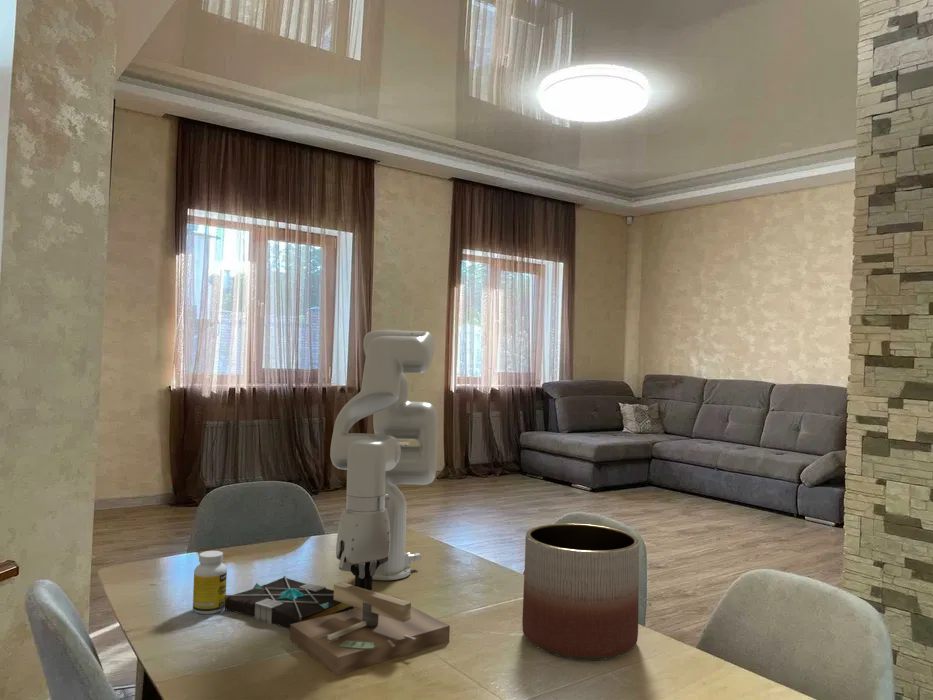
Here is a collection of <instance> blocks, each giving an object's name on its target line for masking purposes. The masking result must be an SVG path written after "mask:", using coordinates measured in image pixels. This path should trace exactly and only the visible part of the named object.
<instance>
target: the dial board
mask: <svg viewBox="0 0 933 700" xmlns="http://www.w3.org/2000/svg"><path fill="white" fill-rule="evenodd" d="M362 619H363V609H361V608H358V607H355V608H354V609H350V610H348V611H344V612H340V613H335V614H331V615H327V616H323V617H319V618H315V619H310V620H306V621H302V622H298V623H294V624H290V628H289V641H290V642H291V643H292V644H294V645H295V646H297V647H298V648H300V649H301V650H302V651H304V652H305V653H306V654H307V655H309V656H310V657H312V658H313V659H314V660H315V661H318V662H319V663H320V664H321V665H323V666H324V667H325V668H327V669H329V671H331V672H333V673H334V674H335V675H336V676H340V675H343V674H345V673H346V674H347V673H350V672H352V671H353V672H354V671H356V670H359V669H362V668H365V667H366V668H367V667H368V666H372V665H376V664H379V662H380V663H383V662H386V661H389V660H392V659H396V658H400V657H402V656H405V655H410V654H413V653H416V652H419V651H423V650H426V649H429V648H432V647H436V646H439V645H442V644H445V643H449V642H450V627H451V626H450V625H449V624H447V623H445V622H443V621H441V620H439V619H437V618H435V617H434V616H431V615H429V614H427V613H426V612H423V611H421V610H420V609H417V608H415V607H413V606H411V619H410V620H407V621H405V622H401V621H398V620H395V619H392V618H389V617H386V616H382V615H379V618H378V625H376V626H363V627H361V628H358V629H356V630H354V631H351V632H349V633H346V634H344V635H342V636H339V637H337V638H334V639H332V640H329V639H328V635H330V634H333V633H335V632H338V631H340V630H342V629H345V628H347V627H350V626H352V625H355V624H357V623H360V622H362ZM349 671H350V672H349ZM339 674H340V675H339Z"/></svg>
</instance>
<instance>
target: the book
mask: <svg viewBox="0 0 933 700" xmlns="http://www.w3.org/2000/svg"><path fill="white" fill-rule="evenodd" d="M225 599H226V600H225V608H224V609H223V610H224V611H225V612H226V611H228V612H229V611H231V612H235V613H239V614H244V615H246V616H250V617H254V620H257V621H260V622H264V623H267V624H270V625H272V624H276V625H279V626H282V627H285V628H287V629H290V624H294V623H298V622H302V621H306V620H310V619H315V618H319V617H323V616H327V615H331V614H335V613H340V612H344V611H348V610H352V609H355V607H354V606H351V605H348V604H345V603H342V602H339V601H336V600H334V589H333V590H332V589H329V588H327V586H324V585H320V584H316V583H313V582H309V583H304V582H301V581H298V580H294V579H291V578H288V577H287V576H286V575H283V577H281V578H279V579H276V580H274V581H271V582H269V583H266V584H263V585H260V584H258V582H256V583H255V584H254V586H253V588H251V589H248V590H245V591H241V592H238V593H234V594H226V595H225Z"/></svg>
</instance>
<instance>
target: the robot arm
mask: <svg viewBox="0 0 933 700" xmlns="http://www.w3.org/2000/svg"><path fill="white" fill-rule="evenodd" d="M362 343H363V344H362V345H363V351H364V352H363V353H364V355H365V360H364V367H363V373H362V374H363V375H362V380H361V388H360V391H359V392H358V393H356V395H354V396H352V397H351V398H350V399H349V400H348V401H347V403H345V404H344V406H343V407H342V408H341V410H340V411H339V413H338V414H337V417H336V418H335V421H334V424H333V425H334V426H333V432H332V437H331V442H330V451H329V452H330V453H329V456H330V461H331V463H332V465H333V466H334V467H335V468H337V469H339V470H345V471H346V497H345V498H346V499H345V500H346V501H345V502H346V503H345V505H346V507H345V509H343V510H342V511H341V514H340V518H339V522H338V528H337V535H336V536H337V538H336V549H335V551H336V552H335V555H336V559H337V560H339V566H338V569H339V570H341V571H343V572H350V573H352V575H353V576H354V586H357V587H360V588H364V589H367V590H370V591H373V580H374V581H396V580H401V579H405V578H407V577H409V575H411V573H412V567H411V566H410V565H409V564H411V563H412V562H414V563H415V562H419V561H421V560H422V555H421V553H420V552H416V553H415V552H414V553H412V554H411V552H409V551H408V552H406V535H407V533H406V532H407V529H406V528H407V527H406V526H407V500H406V498H405V496H404V494H403V493H402V491H401V490H400V489H399V487H398V486H399V485H412V486H413V485H415V486H416V485H417V486H420V485H421V486H423V485H424V486H426V485H429V484H431V483H433V482H434V480H435V478H436V474H437V463H438V462H437V456H438V454H437V452H438V414H437V409H436V408H435V406H434V405H433V404H432V403H431V402H430V403H429V402H427V401H410V400H409V387H410V386H409V380H408V378H407V376H406V375H405V374H424V373H427V371H428V370H429V369H430V366H431V363H432V361H433V359H434V354H435V340H434V338H433V335H432V334H431V333H430V332H429V331H425V330H401V329H377V330H371V331H369V332H367V333H366V334H365V336H364V337H363V342H362ZM371 415H373V417H372V422H373V423H372V424H373V432H374V433H355V432H354V433H353V432H352V433H351V432H349V431H350V430H351V428H352V427H353V426H354V425H355V424H356V423H357V422H358V421H360V420H362V419H364V418H367V417H369V416H371ZM399 440H401V441H402V440H403V441H404V440H406V441H408V440H409V441H416V442H418V445H405V444H404V445H403V444H400V443H399ZM397 485H398V486H397Z"/></svg>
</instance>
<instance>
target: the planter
mask: <svg viewBox="0 0 933 700" xmlns="http://www.w3.org/2000/svg"><path fill="white" fill-rule="evenodd" d="M524 544H525V546H524V572H523V574H524V576H523V595H522V597H523V599H522V600H523V601H522V626H521V627H522V633H523V635H524V637H525V638H526V639H527V641H529V642H530V643H531V644H533V645H534V646H535V647H537V648H538V649H540V650H542V651H544V652H546V653H548V654H552V655H555V656H558V657H562V658H565V659H566V658H567V659H574V660H582V661H584V660H585V661H597V660H598V661H600V660H607V659H613V658H617V657H619V656H621V655H624V654H626V653H628V652H629V651H631V650H632V649H634V648H635V646H636V645H637V642H638V637H639V592H640V591H639V588H640V587H639V577H640V575H639V574H640V573H639V572H640V569H639V568H640V540H639V539H638V537H637V536H635V535H633V534H631V533H630V532H626V531H625V530H621V529H618V528H613V527H610V526H603V525H597V524H587V523H574V522H573V523H571V522H570V523H567V522H566V523H550V524H543V525H538V526H535V527H532V528H530V529H529V530H527V531H526V532H525V543H524Z"/></svg>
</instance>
